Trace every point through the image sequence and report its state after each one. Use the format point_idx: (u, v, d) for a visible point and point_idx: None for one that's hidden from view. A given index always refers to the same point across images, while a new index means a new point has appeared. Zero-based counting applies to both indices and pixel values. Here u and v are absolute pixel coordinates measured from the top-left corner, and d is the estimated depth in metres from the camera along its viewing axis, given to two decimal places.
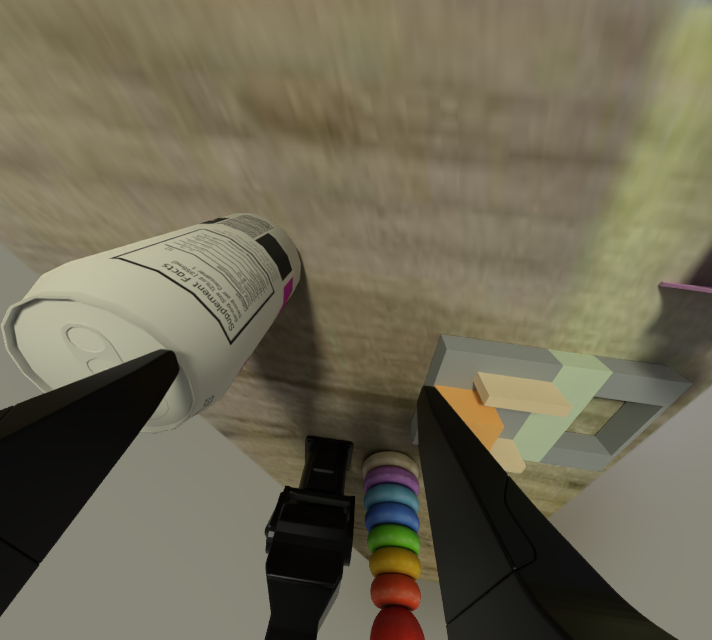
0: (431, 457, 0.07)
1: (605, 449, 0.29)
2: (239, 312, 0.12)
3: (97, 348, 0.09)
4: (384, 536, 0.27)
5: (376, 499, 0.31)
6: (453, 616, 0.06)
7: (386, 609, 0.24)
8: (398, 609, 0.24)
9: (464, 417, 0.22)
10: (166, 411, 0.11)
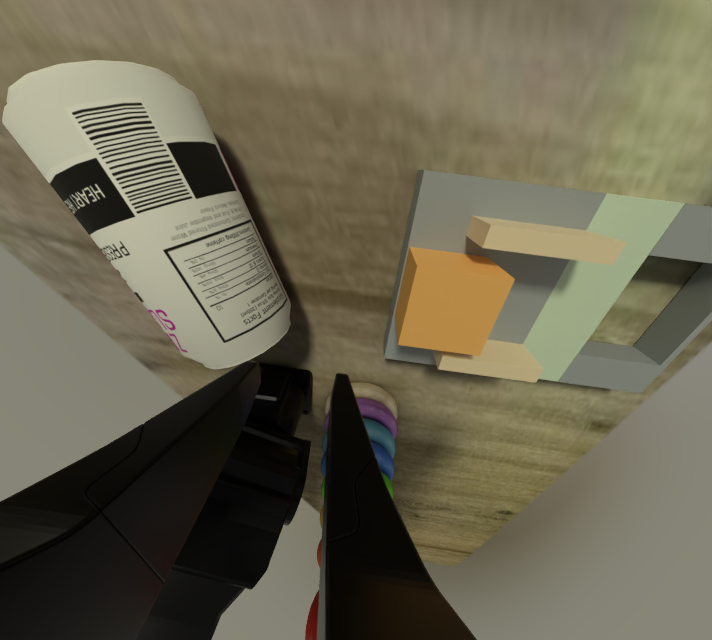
0: (327, 442, 0.07)
1: (650, 359, 0.21)
2: (275, 284, 0.17)
3: None
4: None
5: None
6: (319, 597, 0.06)
7: None
8: None
9: (450, 268, 0.14)
10: None
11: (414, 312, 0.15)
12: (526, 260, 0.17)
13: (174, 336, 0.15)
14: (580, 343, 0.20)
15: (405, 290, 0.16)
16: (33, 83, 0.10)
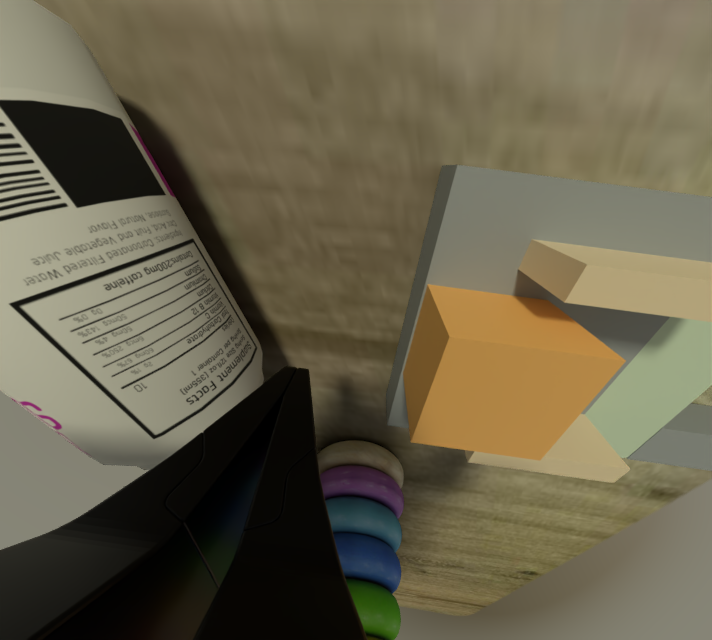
0: None
1: None
2: (237, 331, 0.12)
3: None
4: None
5: None
6: None
7: None
8: None
9: (507, 338, 0.08)
10: None
11: (439, 403, 0.09)
12: None
13: (64, 435, 0.09)
14: (669, 415, 0.14)
15: (422, 356, 0.10)
16: None
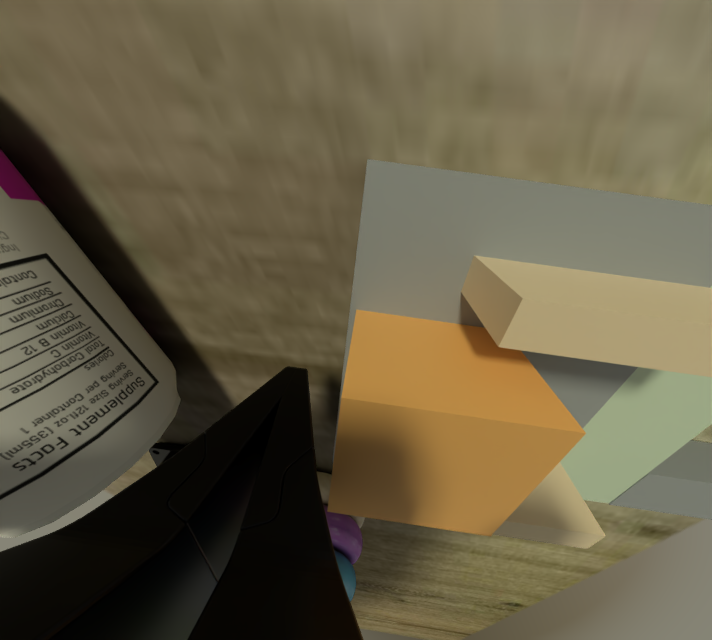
0: None
1: None
2: (118, 367, 0.09)
3: None
4: None
5: None
6: None
7: None
8: None
9: (426, 396, 0.06)
10: None
11: (350, 472, 0.07)
12: None
13: None
14: (656, 459, 0.12)
15: None
16: None
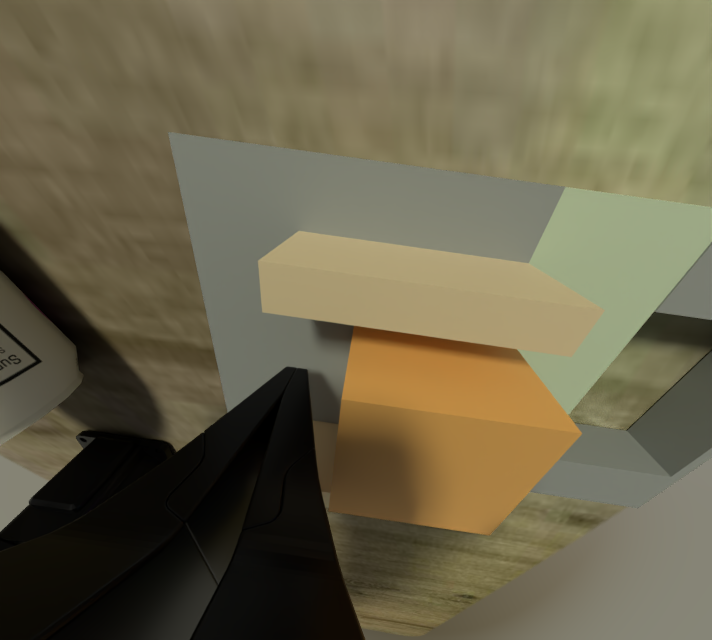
0: None
1: (655, 461, 0.13)
2: None
3: None
4: None
5: None
6: None
7: None
8: None
9: (424, 398, 0.06)
10: None
11: (350, 472, 0.07)
12: None
13: None
14: None
15: None
16: None
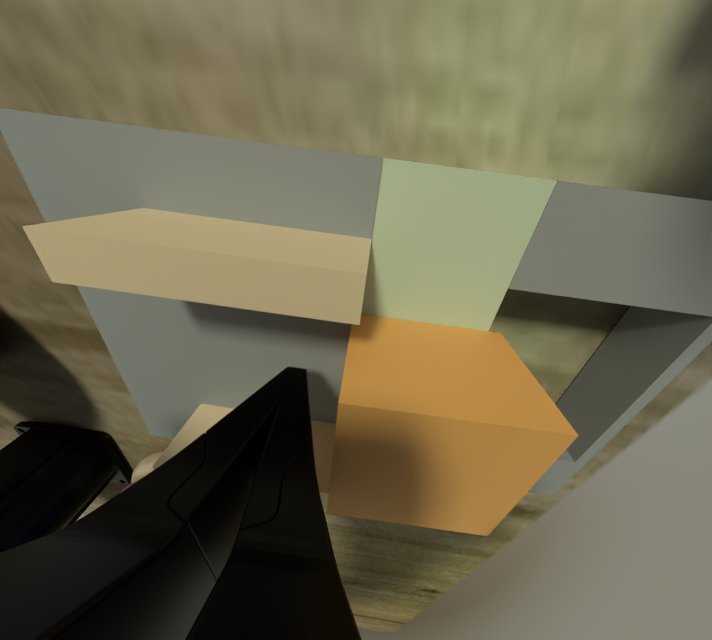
0: None
1: None
2: None
3: None
4: None
5: None
6: None
7: None
8: None
9: (421, 401, 0.06)
10: None
11: (348, 475, 0.07)
12: None
13: None
14: None
15: None
16: None
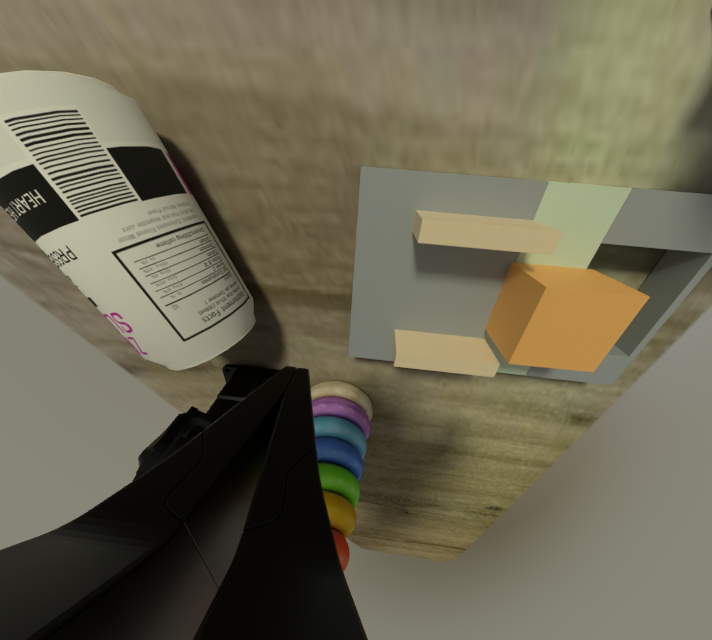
0: None
1: (620, 350, 0.20)
2: (234, 283, 0.18)
3: None
4: None
5: None
6: None
7: None
8: None
9: (578, 287, 0.13)
10: None
11: (532, 332, 0.14)
12: (476, 253, 0.16)
13: (132, 338, 0.15)
14: None
15: (514, 308, 0.16)
16: None
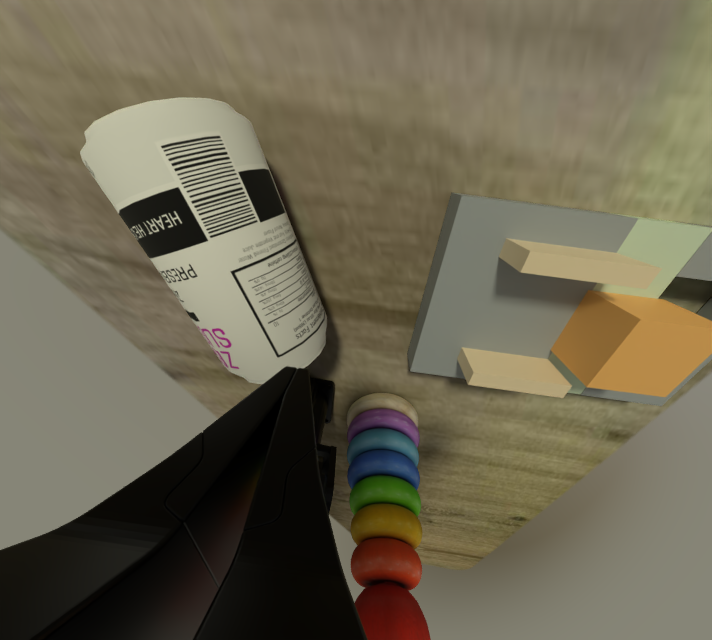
0: None
1: None
2: (317, 298, 0.18)
3: None
4: (372, 491, 0.20)
5: (363, 446, 0.23)
6: None
7: (372, 587, 0.16)
8: (389, 586, 0.16)
9: (668, 320, 0.14)
10: None
11: (617, 359, 0.15)
12: (556, 280, 0.17)
13: (227, 353, 0.16)
14: None
15: (593, 334, 0.17)
16: (124, 118, 0.10)
